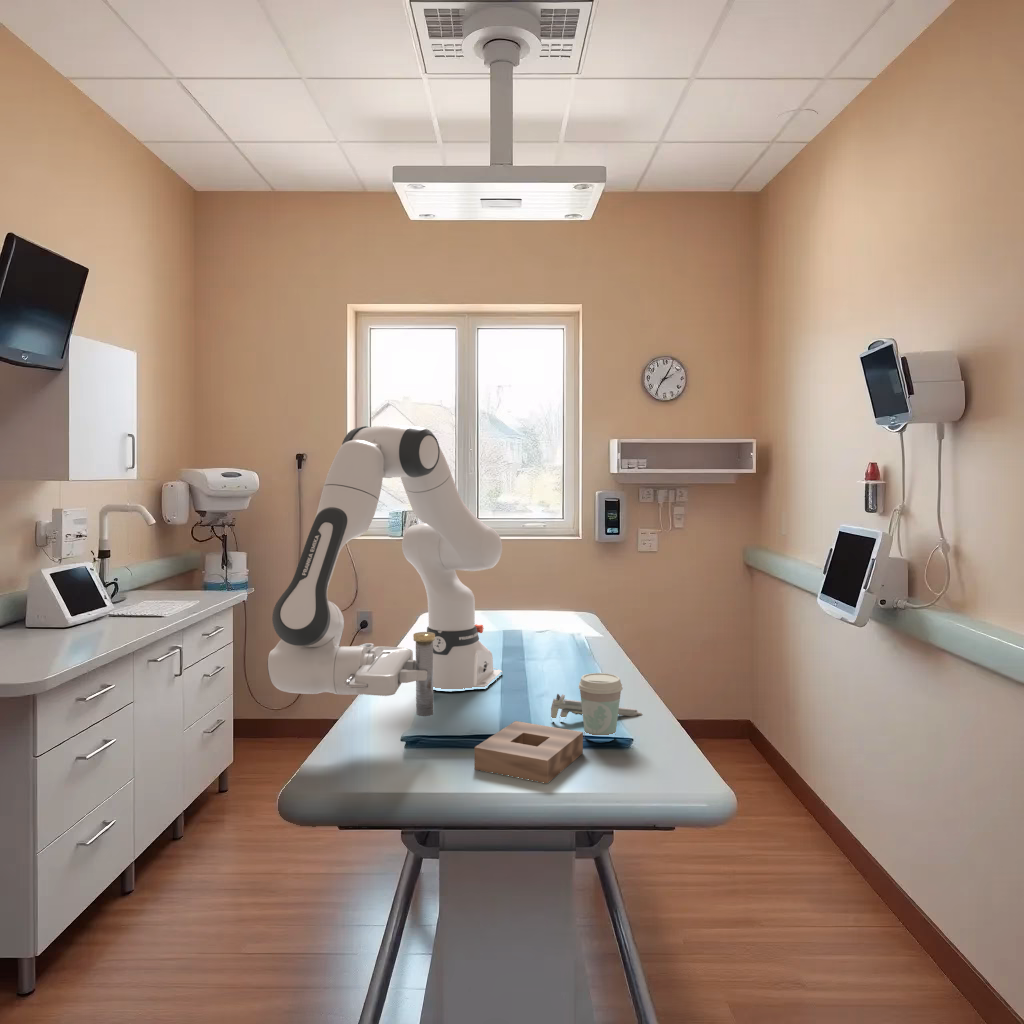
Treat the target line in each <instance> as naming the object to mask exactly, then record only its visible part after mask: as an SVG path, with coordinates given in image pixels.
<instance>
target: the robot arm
mask: <svg viewBox="0 0 1024 1024" xmlns="http://www.w3.org/2000/svg"><path fill="white" fill-rule="evenodd" d="M384 478H385V479H392V478H400V480H401V483H402V485H403V487H404V490H405V493H406V496H407V499H408V501H409V504H410V506H411V507H410V508H412V509H411V510H412V512H413V514H414V516H415V517H416V518H417V519H418V520H419V521H421V522H422V523H418V524H413V525H411V526H409V527H408V528H407V529H406V531H405V533H404V534H403V537H402V541H401V549H402V551H401V552H402V553H403V556H404V558H405V560H406V561H407V562H408V563H409V564H410V565H412V566H413V568H414V569H415V570H416V571H417V573H418V574H419V576H420V578H421V581H422V583H423V585H424V588H425V592H426V598H427V611H428V616H427V617H428V626H427V627H426V632H432V633H435V640H434V641H433V687H435V688H441V689H463V688H464V689H465V688H472V687H485V686H487V685H488V684H489V683H490V682H491V681H492V680H493V679H495V677H496V676H498V675H499V674H500V672H502V673H503V670H501V669H499V668H496V667H494V660H493V653H492V652H491V650H489V649H488V648H487V646H485V645H484V644H483V643H482V642H481V641H480V636H479V634H483V632H484V629H485V628H484V624H476V622H475V621H476V614H475V613H476V611H475V609H476V606H475V605H476V603H475V602H476V601H475V600H476V599H475V595H474V593H473V591H472V589H471V588H470V587H468V586H467V585H465V584H464V583H462V581H461V580H460V579H459V577H458V575H457V571H466V572H467V571H468V572H476V571H484V570H489V569H493V568H494V567H495V566H496V565H497V564H498V563H499V561H500V560H501V557H502V554H503V542H502V538H501V536H500V535H499V533H498V531H496V529H495V528H493V527H491V526H489V525H487V524H485V522H483V521H482V520H480V519H479V518H478V517H477V516H476V515H475V514H474V513H473V512H472V511H471V509H469V508H468V506H467V505H466V503H465V502H464V501H463V499H462V498H461V495H460V493H459V491H458V488H457V486H456V484H455V481H454V478H453V476H452V472H451V468H450V467H449V463H448V461H447V460H446V457H445V454H444V453H443V451H442V449H441V447H440V443H439V441H438V439H437V438H436V436H435V434H434V433H433V432H432V431H431V430H430V429H427V428H425V427H421V426H417V425H412V426H409V425H401V424H387V425H376V426H359V427H356V428H354V429H351V430H350V431H349V432H347V434H346V435H345V437H344V438H343V440H342V443H341V445H340V447H339V448H338V449H337V452H336V454H335V455H334V458H333V460H332V463H331V465H330V467H329V470H328V471H327V475H326V478H325V480H324V484H323V488H322V490H321V491H322V492H321V495H320V498H319V503H318V507H317V510H316V515H315V517H314V520H313V523H312V526H311V528H310V529H309V530H310V531H309V533H308V536H307V539H306V542H305V544H304V546H303V550H302V553H301V556H300V559H299V560H298V561H299V562H298V564H297V567H296V570H295V573H294V576H293V577H292V580H291V582H290V584H289V585H288V586H287V588H286V589H285V591H284V592H283V593H282V594H281V596H280V597H279V598H278V599H277V602H276V603H275V606H274V607H273V611H272V617H271V618H272V619H271V620H272V621H271V622H272V626H273V629H274V631H275V633H276V635H277V636H278V637H279V638H280V640H279V641H278V643H277V644H276V646H274V648H273V649H271V650H270V652H269V653H268V657H267V664H266V665H267V673H268V677H269V679H270V682H271V684H272V685H273V686H274V687H275V688H276V689H277V690H279V691H281V692H285V693H291V694H303V695H304V694H305V695H317V694H321V693H331V694H335V695H353V696H354V695H362V696H363V695H365V696H369V695H370V696H380V697H381V696H382V697H383V696H384V697H388V696H395V694H396V692H397V691H398V690H399V688H400V687H401V685H402V684H407V683H412V682H416V681H417V680H418V681H425V680H426V679H427V677H428V670H427V669H418V670H416V659H414V656H413V655H414V654H413V650H412V649H409V648H405V647H400V646H399V647H398V646H397V647H396V646H384V645H383V646H380V645H379V646H375V644H374V643H363V644H360V645H359V644H358V645H351V646H342V645H340V644H341V642H342V637H343V633H344V628H345V618H344V615H343V612H342V610H341V608H339V607H338V605H336V604H335V603H334V602H333V601H331V600H329V598H328V591H329V590H328V589H329V585H330V583H331V580H332V577H333V574H334V571H335V567H336V564H337V561H338V558H339V555H340V552H341V551H342V549H343V548H344V546H345V545H346V544H347V543H348V542H350V541H351V540H354V539H356V538H359V537H361V536H362V535H364V534H365V533H366V532H367V531H368V529H369V528H370V526H371V523H372V521H373V519H374V517H375V514H376V511H377V507H378V504H379V501H380V500H379V499H380V496H381V490H382V485H383V479H384ZM456 570H457V571H456ZM493 669H498V670H493Z"/></svg>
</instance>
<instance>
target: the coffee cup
mask: <svg viewBox="0 0 1024 1024" xmlns="http://www.w3.org/2000/svg"><path fill="white" fill-rule="evenodd" d="M577 687H578V689H579V692H580V701H581V704H582V714H583V715H582V722H583V730H584V731H585V732H586V733H589V734H592V735H609V734H613V733H615V732H617V725H618V717H619V715H618V710H619V707H620V701H621V694H622V692H621V691H623V688H624V687H623V683H622V682H621V678H620V677H619V676H618V675H616V674H612V673H605V672H593V673H586V674H583V675H581V677H580V681H579V682H578V686H577ZM584 731H583V732H584ZM585 732H584V733H585Z"/></svg>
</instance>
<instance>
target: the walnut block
mask: <svg viewBox="0 0 1024 1024" xmlns="http://www.w3.org/2000/svg"><path fill="white" fill-rule="evenodd" d="M583 744H584V731H578V730H572V729H566V728H559V727H555V726H549V725H544V724H543V725H541V724H536V723H529V722H523V721H517V720H514V721H513V722H511V723H510V724H508V725H507V726H506V727H504V728H502V729H501V730H499V731H498V732H495V733H494V734H493V735H491V736H489V737H488V738H486V739H485V740H484V741H482V742H480V743H479V744H477V745H475V746H474V747H473V748H474V753H473V754H474V755H473V756H474V770H475V771H479V770H481V771H480V772H484V771H485V772H486V773H490V772H493V773H492V774H495V773H498V774H497V775H500V774H503V775H502V776H505V775H509V776H508V777H510V776H513V777H512V778H515V777H519V778H518V779H520V778H523V779H522V780H525V779H529V780H528V781H530V780H533V781H532V782H535V781H538V782H537V783H540V782H544V783H543V784H545V783H548V782H549V781H550V782H551V781H552V780H554V779H555V778H556V777H557V776H558V775H560V774H561V773H562V772H563V771H564V770H565V769H567V768H568V767H569V766H570V765H571V764H572V763H573V762H575V761H576V760H577V759H578V758H579V757H580V756H581V755H582V754H583V753H584V751H583V750H584V745H583ZM553 778H554V779H553ZM550 782H549V783H550ZM549 783H548V784H549Z"/></svg>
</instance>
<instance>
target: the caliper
mask: <svg viewBox="0 0 1024 1024" xmlns="http://www.w3.org/2000/svg"><path fill="white" fill-rule="evenodd" d="M565 697H566V695H565V694H561V695H560V694H559V693H557V694H556V698H553V700H552V702H551V703H552V704H551V707H550V718H551V717H552V718H556V719H557V716H558V713H559V710H561V711H560V715H559V717H560V716H561V717H566V718H567V716H568V714H569V713H570V712H571V713H572V714H574V715H580V716H583V715H582V704H581V700H574V699H565ZM618 714H619V715H618V716H625V717H633V716H634V717H635V716H637V715H638V716H642V715H643V713H642V712H641V711H638V710H637V708H631V707H621V706H619V710H618Z"/></svg>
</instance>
